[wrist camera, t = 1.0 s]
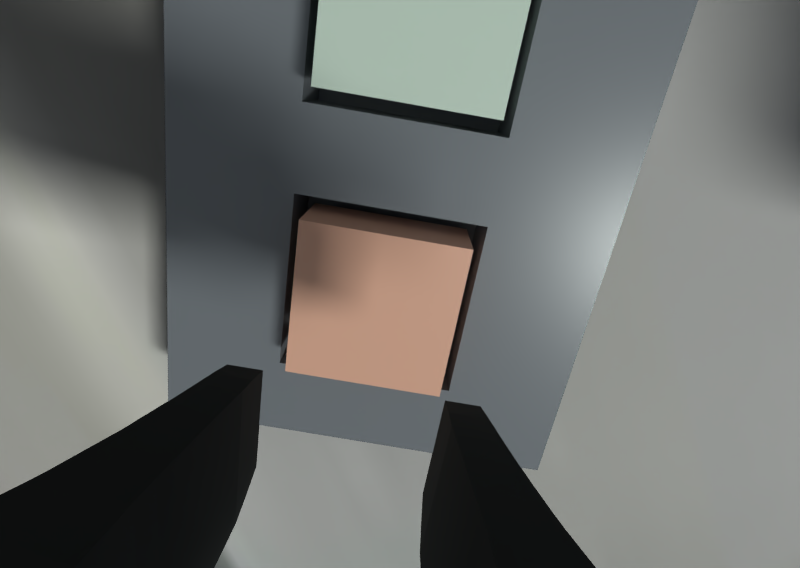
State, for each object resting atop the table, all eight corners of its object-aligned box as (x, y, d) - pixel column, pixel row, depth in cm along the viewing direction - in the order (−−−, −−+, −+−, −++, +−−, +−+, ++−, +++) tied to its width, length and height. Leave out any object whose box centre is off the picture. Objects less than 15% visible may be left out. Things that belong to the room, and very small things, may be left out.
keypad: (867, -681, 9) (1022, -952, 7) (522, 421, 18) (537, 469, 16) (222, -819, 9) (150, -1148, 6) (201, 368, 18) (168, 409, 16)
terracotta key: (466, 229, 14) (473, 249, 12) (437, 360, 16) (439, 396, 14) (315, 203, 14) (299, 219, 12) (301, 337, 16) (284, 371, 14)
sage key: (535, -82, 11) (557, -117, 9) (491, 116, 13) (503, 120, 11) (347, -116, 11) (333, -159, 9) (327, 87, 13) (310, 86, 11)
